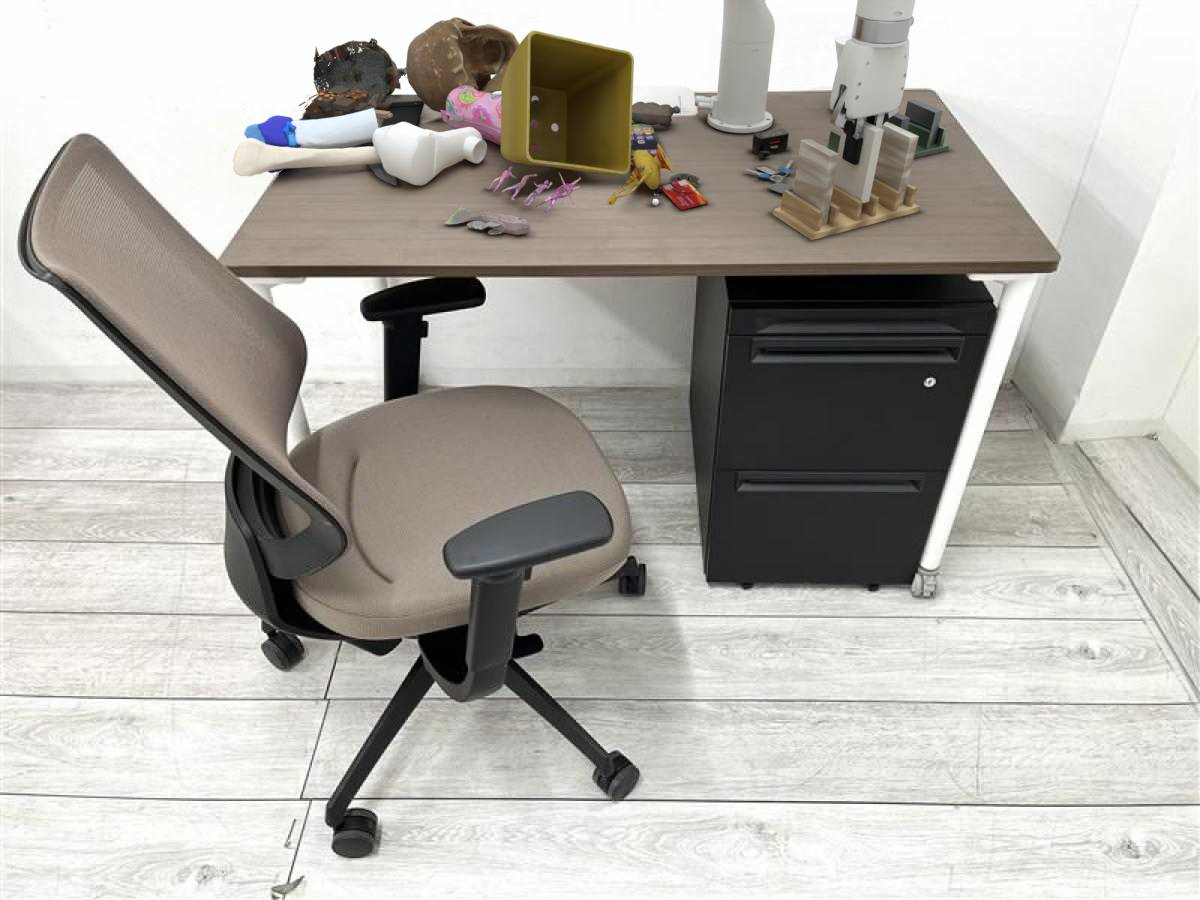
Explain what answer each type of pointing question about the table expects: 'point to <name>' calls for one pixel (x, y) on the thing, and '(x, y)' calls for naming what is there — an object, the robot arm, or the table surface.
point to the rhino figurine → (653, 113)
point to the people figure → (540, 188)
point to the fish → (490, 221)
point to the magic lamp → (644, 171)
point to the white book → (862, 175)
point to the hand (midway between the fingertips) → (856, 159)
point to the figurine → (358, 70)
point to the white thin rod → (656, 201)
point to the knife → (380, 169)
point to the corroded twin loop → (689, 177)
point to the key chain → (778, 182)
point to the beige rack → (834, 210)
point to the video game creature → (339, 104)
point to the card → (683, 194)
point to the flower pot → (568, 105)
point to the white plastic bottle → (425, 150)
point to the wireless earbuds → (770, 142)
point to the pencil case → (477, 113)
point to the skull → (458, 59)
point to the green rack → (913, 128)
